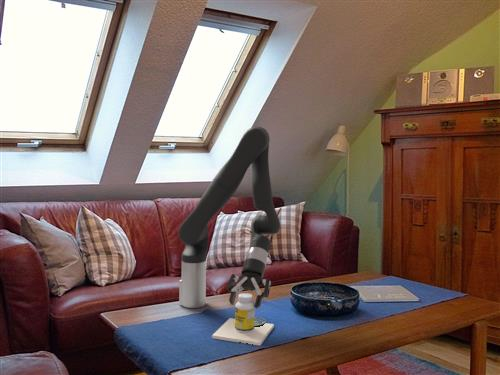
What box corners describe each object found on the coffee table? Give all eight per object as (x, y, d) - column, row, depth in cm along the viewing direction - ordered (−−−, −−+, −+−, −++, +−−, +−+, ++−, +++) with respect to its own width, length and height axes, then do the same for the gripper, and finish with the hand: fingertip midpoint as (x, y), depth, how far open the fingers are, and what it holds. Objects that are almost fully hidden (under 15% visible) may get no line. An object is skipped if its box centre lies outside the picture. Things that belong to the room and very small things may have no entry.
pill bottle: (232, 326, 163) (232, 293, 162) (250, 324, 165) (251, 291, 164) (238, 334, 157) (239, 299, 156) (257, 331, 159) (257, 297, 158)
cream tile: (212, 338, 156) (212, 335, 156) (229, 320, 171) (229, 318, 171) (260, 345, 151) (260, 342, 151) (273, 327, 166) (273, 324, 166)
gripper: (233, 255, 169) (220, 297, 159) (273, 259, 165) (262, 303, 155) (238, 266, 175) (226, 308, 165) (276, 270, 170) (266, 313, 161)
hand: (243, 305), depth 160 cm, fingers open, 8 cm apart
